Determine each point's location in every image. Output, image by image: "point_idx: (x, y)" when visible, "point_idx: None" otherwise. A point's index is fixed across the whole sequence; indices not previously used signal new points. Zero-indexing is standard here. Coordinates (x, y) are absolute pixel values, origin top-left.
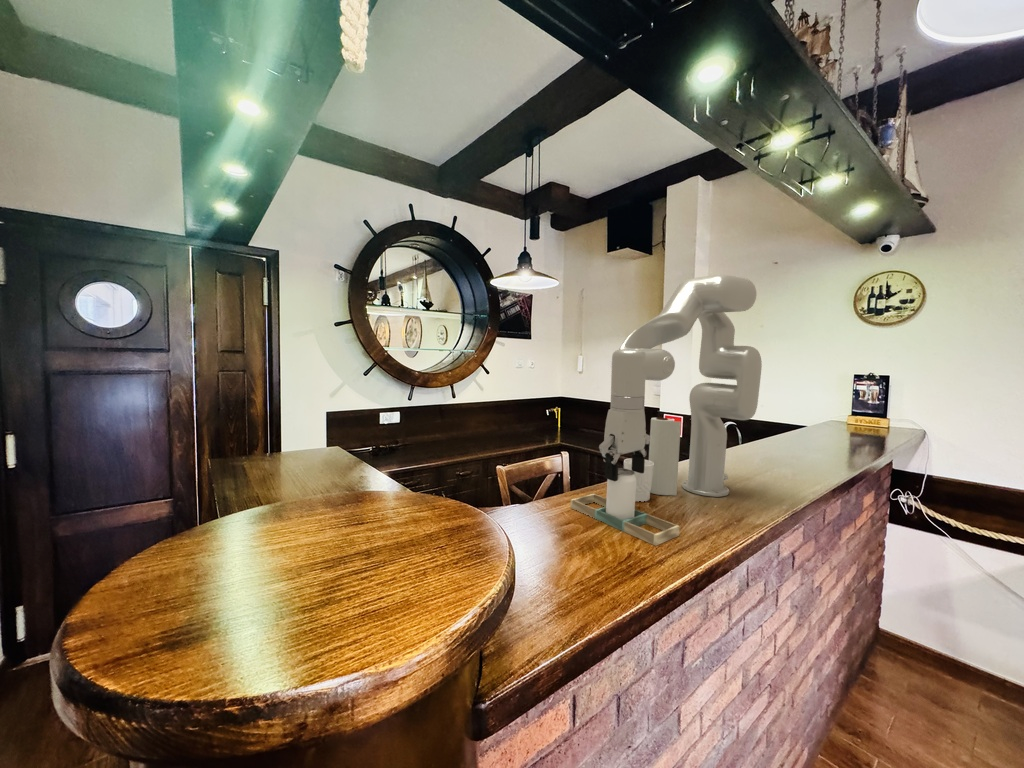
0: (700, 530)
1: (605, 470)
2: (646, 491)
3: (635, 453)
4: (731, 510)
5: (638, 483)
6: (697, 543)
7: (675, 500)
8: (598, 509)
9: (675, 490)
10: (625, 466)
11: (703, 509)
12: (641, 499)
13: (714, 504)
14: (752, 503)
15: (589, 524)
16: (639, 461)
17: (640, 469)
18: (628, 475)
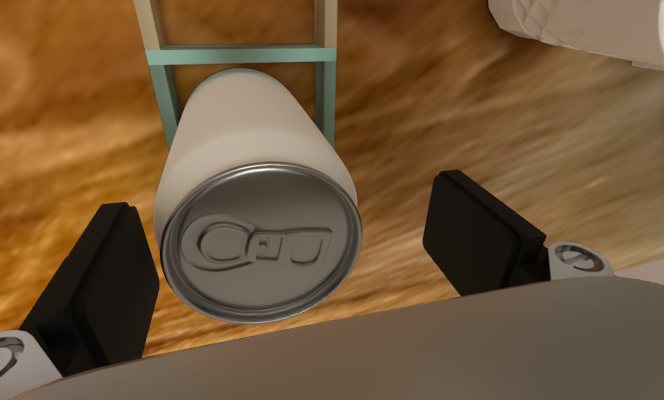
0: (400, 268)
1: (81, 240)
2: (544, 41)
3: (530, 283)
4: (582, 219)
5: (552, 21)
6: (322, 310)
7: (584, 92)
8: (168, 58)
9: (652, 65)
10: None
11: (550, 185)
12: (503, 26)
13: (606, 174)
14: (657, 211)
15: (84, 80)
16: (469, 278)
17: (435, 249)
18: (245, 317)
